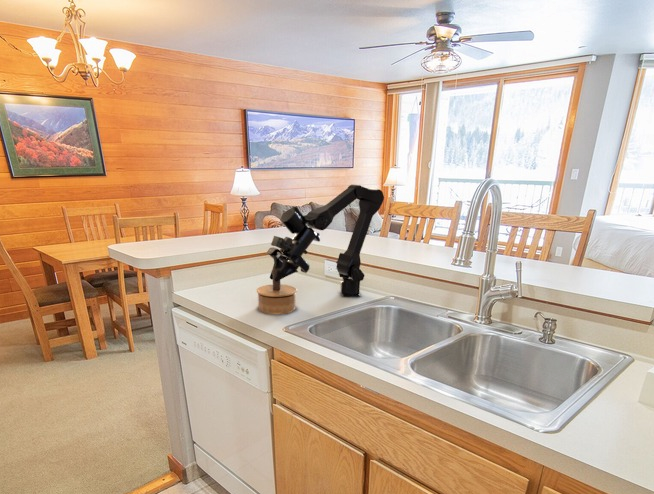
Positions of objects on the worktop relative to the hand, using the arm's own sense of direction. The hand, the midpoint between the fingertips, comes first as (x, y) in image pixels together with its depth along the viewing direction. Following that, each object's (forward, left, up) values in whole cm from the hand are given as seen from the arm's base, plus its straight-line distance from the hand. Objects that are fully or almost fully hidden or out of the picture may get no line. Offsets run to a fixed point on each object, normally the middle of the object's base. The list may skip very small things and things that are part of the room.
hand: (272, 279), depth 145 cm
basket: (-1, -1, -10) cm, 10 cm away
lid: (-1, -1, -4) cm, 4 cm away
